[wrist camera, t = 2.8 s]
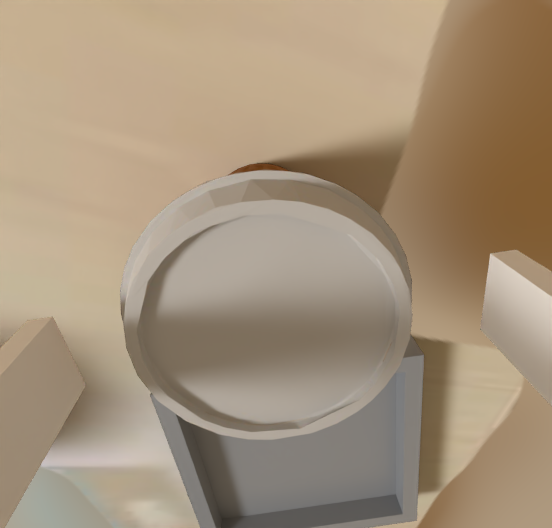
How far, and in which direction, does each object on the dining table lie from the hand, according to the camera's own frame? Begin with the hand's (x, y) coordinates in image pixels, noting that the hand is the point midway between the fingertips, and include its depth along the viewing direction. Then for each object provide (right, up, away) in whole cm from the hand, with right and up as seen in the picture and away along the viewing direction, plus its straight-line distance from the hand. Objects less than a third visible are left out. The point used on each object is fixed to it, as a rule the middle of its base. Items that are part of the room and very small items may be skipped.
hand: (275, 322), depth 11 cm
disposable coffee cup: (-1, +5, +11) cm, 12 cm away
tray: (+2, -12, +19) cm, 22 cm away
